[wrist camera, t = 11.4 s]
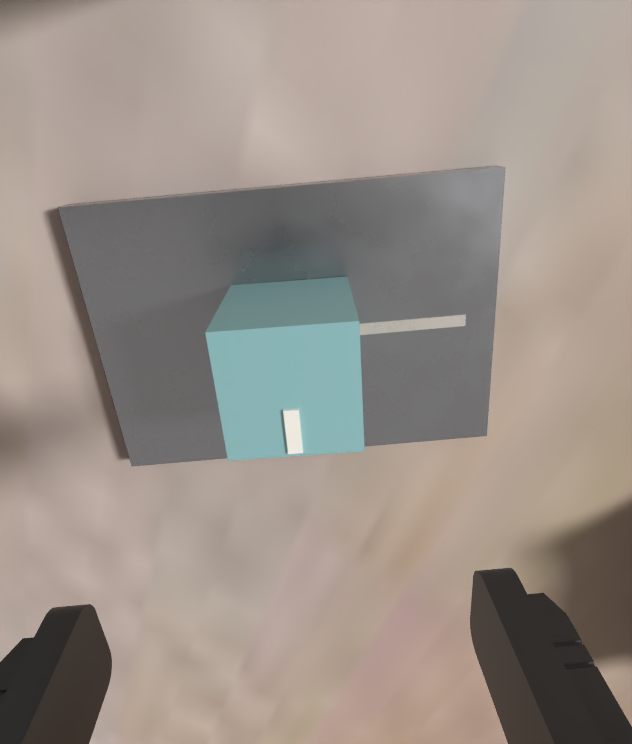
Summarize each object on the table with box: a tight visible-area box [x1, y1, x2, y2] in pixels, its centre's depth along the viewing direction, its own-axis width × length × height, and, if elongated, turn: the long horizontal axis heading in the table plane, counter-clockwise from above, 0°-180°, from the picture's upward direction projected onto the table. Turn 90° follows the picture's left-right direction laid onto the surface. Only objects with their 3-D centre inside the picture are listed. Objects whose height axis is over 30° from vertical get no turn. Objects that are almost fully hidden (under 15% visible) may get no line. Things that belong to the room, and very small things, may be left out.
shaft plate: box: [58, 166, 505, 466], centre depth 24 cm, size 20×14×6 cm
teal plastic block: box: [205, 277, 365, 461], centre depth 22 cm, size 6×6×7 cm
